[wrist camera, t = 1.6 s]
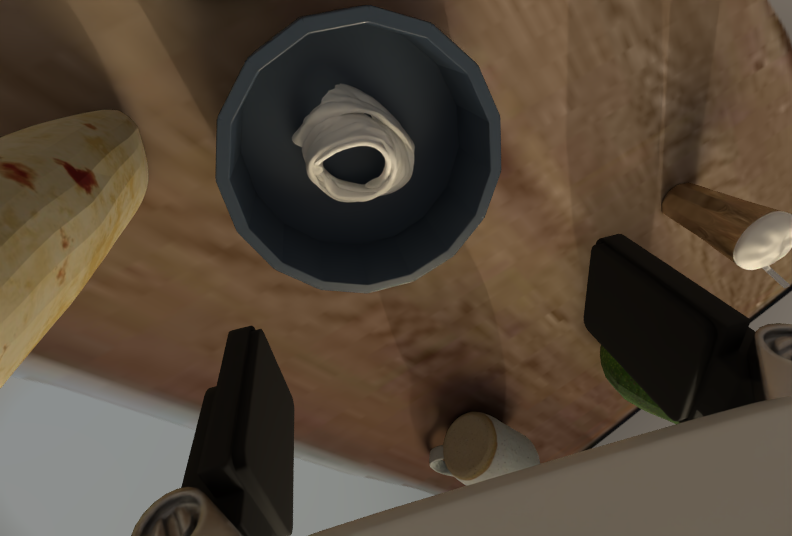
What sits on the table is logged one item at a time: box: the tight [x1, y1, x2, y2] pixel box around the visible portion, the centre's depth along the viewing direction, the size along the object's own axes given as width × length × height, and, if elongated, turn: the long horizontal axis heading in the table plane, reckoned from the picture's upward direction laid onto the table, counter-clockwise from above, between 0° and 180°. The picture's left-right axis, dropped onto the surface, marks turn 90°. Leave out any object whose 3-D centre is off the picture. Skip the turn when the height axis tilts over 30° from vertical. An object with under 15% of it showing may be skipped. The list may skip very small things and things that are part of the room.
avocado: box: [600, 345, 679, 424], centre depth 39 cm, size 8×8×12 cm
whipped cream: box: [292, 83, 415, 202], centre depth 26 cm, size 8×7×5 cm
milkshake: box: [662, 182, 792, 288], centre depth 32 cm, size 4×5×10 cm
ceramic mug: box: [429, 412, 540, 486], centre depth 44 cm, size 11×8×8 cm
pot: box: [215, 5, 501, 293], centre depth 26 cm, size 16×16×6 cm
